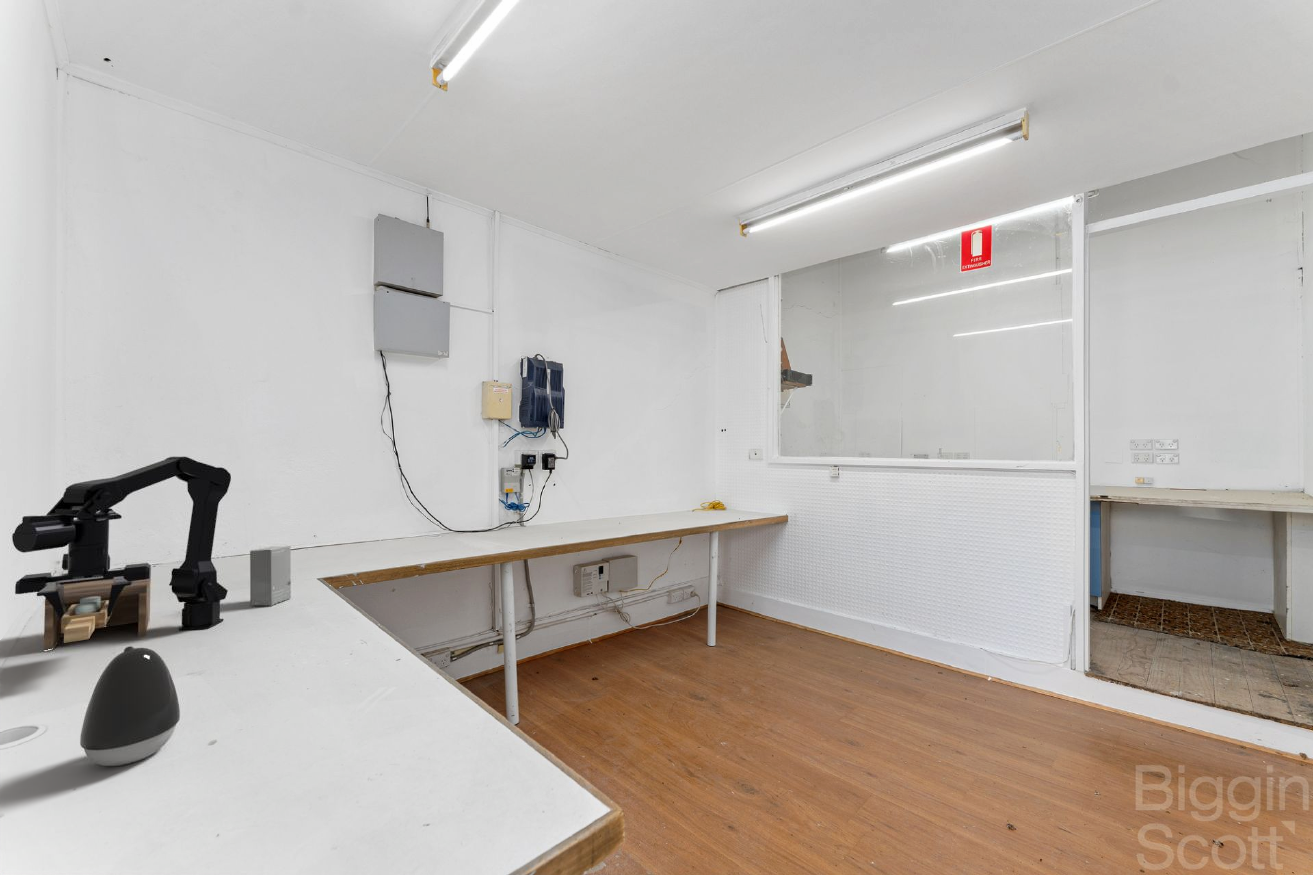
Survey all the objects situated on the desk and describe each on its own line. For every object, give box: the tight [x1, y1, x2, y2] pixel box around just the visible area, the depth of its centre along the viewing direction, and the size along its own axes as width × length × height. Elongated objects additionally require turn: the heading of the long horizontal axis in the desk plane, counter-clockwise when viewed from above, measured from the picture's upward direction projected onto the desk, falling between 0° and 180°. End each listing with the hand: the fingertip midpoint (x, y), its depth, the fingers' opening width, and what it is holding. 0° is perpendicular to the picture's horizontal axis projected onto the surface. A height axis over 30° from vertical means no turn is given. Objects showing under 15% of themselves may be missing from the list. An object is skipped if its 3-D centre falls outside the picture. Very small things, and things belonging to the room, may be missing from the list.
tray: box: [61, 596, 112, 644], centre depth 108 cm, size 20×6×4 cm, turn 41°
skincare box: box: [249, 545, 292, 607], centre depth 154 cm, size 8×7×16 cm
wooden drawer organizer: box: [43, 574, 152, 651], centre depth 127 cm, size 16×16×12 cm
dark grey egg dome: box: [79, 645, 181, 767], centre depth 77 cm, size 10×10×15 cm
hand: (86, 619), depth 110 cm, fingers closed on tray, 6 cm apart
